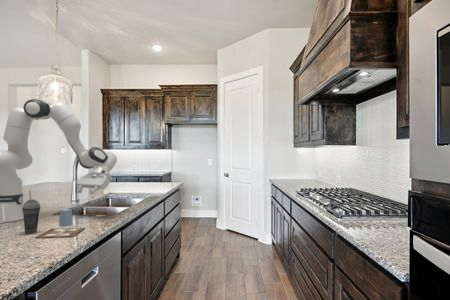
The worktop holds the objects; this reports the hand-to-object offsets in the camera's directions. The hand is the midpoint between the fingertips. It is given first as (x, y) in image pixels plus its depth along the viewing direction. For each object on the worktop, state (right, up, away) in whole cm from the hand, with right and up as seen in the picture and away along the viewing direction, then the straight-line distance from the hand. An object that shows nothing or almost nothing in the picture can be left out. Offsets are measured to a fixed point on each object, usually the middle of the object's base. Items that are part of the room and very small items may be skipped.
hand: (85, 192), depth 157 cm
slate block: (-4, -15, -12) cm, 20 cm away
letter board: (+3, -15, -27) cm, 31 cm away
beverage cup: (-13, -15, -26) cm, 32 cm away
